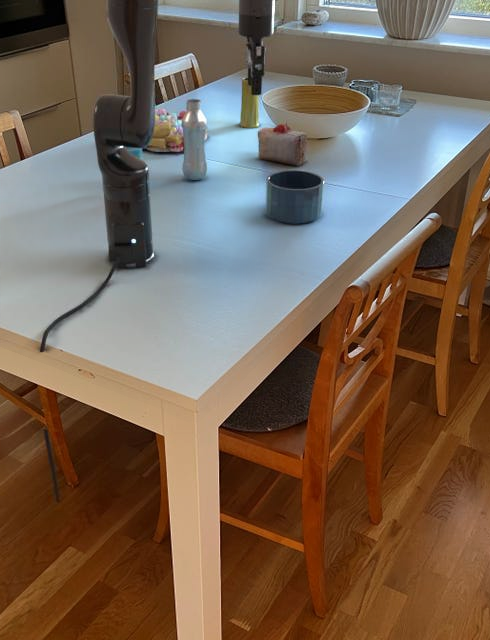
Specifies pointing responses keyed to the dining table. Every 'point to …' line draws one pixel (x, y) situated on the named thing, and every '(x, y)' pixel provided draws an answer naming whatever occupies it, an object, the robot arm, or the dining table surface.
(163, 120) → the candy landscape model
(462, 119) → the dining table surface
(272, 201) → the bowl
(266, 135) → the food item
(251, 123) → the vase
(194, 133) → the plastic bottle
